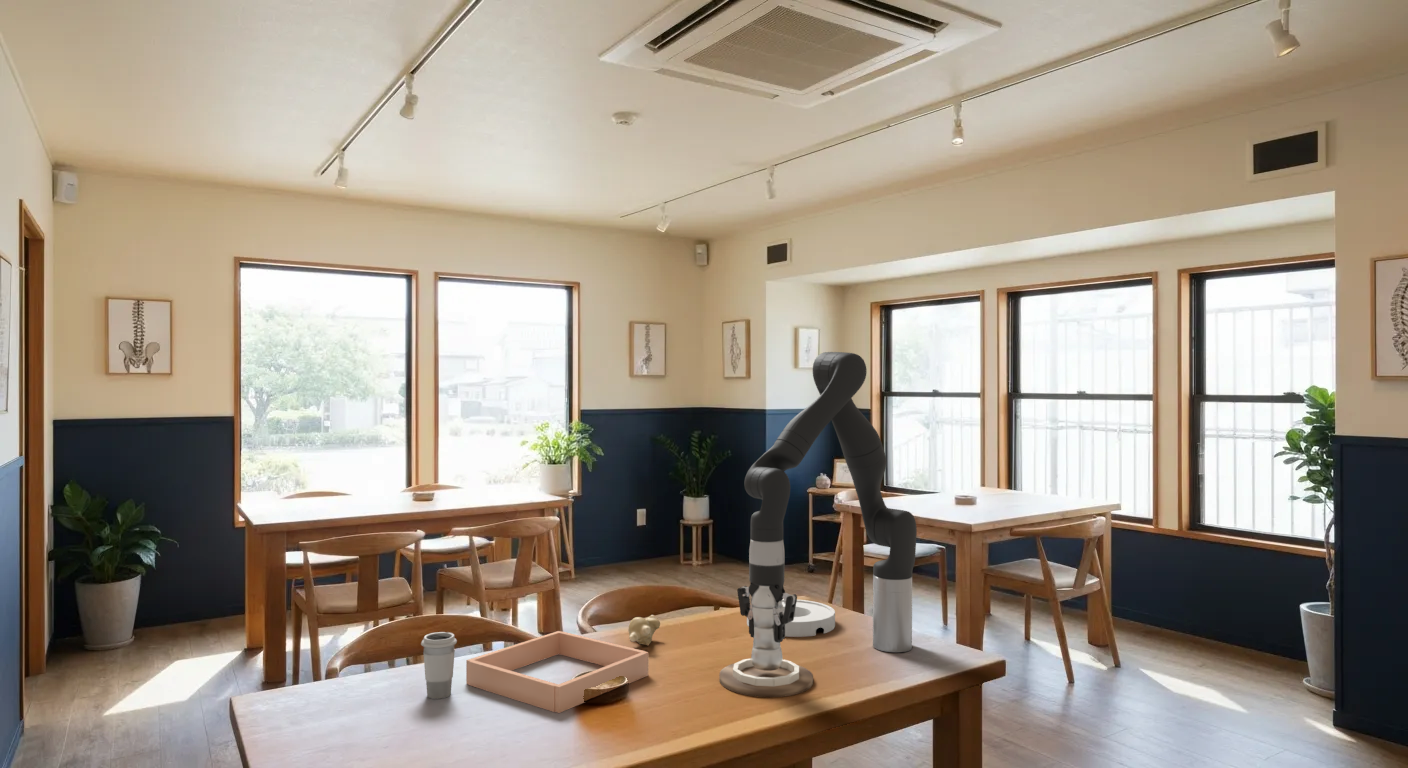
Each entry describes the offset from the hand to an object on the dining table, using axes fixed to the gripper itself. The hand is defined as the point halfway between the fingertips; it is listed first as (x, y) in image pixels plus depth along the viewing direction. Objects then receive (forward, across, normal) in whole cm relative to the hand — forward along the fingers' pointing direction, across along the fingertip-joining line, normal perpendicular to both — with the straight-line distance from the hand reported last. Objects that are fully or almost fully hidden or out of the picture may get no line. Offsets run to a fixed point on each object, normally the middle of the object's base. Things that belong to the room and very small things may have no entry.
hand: (766, 638), depth 191 cm
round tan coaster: (+9, 0, 0) cm, 9 cm away
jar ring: (+8, 0, 0) cm, 8 cm away
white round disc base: (+10, +18, -41) cm, 46 cm away
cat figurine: (+9, +38, -4) cm, 39 cm away
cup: (+9, +49, +47) cm, 69 cm away
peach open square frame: (+9, +36, +26) cm, 45 cm away
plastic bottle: (+7, 0, 0) cm, 7 cm away
